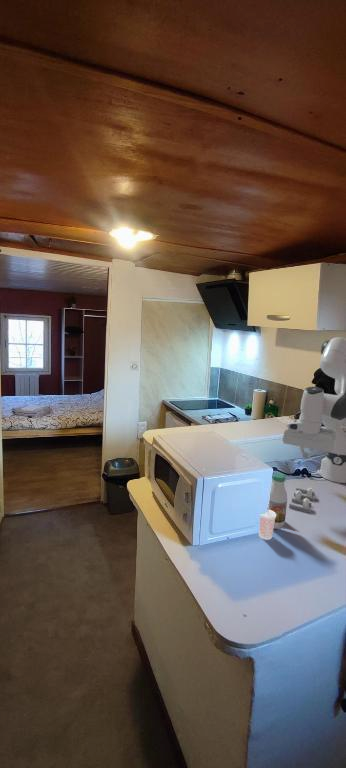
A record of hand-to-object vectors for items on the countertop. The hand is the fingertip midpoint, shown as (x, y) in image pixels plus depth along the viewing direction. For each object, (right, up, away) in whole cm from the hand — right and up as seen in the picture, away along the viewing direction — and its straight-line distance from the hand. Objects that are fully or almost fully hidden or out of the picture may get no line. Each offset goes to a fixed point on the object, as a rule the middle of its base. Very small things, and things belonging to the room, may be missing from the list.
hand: (305, 457), depth 153 cm
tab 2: (-1, -21, -2) cm, 21 cm away
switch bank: (0, -21, +5) cm, 22 cm away
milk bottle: (-17, -23, -13) cm, 32 cm away
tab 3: (+5, -20, +9) cm, 22 cm away
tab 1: (-2, -20, +5) cm, 21 cm away
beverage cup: (-23, -25, -22) cm, 40 cm away
